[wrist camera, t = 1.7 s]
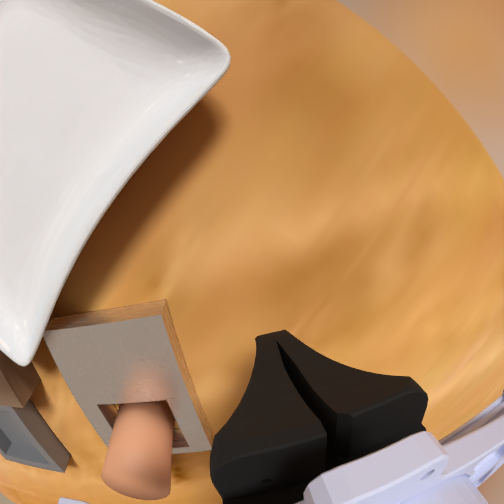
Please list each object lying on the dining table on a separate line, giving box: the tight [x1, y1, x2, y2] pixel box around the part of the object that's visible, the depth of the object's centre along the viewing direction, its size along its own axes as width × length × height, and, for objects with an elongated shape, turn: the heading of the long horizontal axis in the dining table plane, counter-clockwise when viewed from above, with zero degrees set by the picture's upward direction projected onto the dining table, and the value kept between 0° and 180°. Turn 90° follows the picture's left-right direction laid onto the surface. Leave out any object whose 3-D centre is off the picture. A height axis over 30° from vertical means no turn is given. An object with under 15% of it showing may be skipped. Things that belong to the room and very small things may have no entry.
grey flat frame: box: [43, 299, 212, 454], centre depth 16 cm, size 12×8×2 cm
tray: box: [0, 398, 71, 473], centre depth 15 cm, size 9×9×2 cm
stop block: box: [0, 350, 41, 408], centre depth 14 cm, size 5×3×4 cm, turn 9°
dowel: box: [101, 400, 174, 500], centre depth 15 cm, size 4×4×7 cm
